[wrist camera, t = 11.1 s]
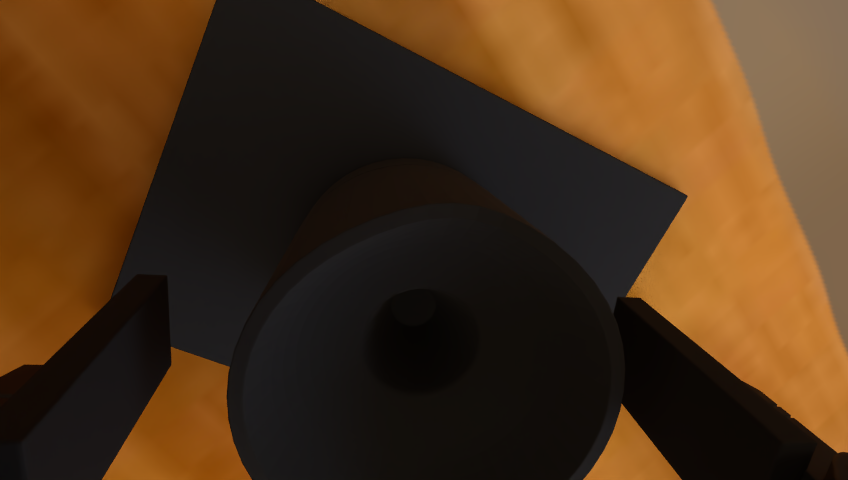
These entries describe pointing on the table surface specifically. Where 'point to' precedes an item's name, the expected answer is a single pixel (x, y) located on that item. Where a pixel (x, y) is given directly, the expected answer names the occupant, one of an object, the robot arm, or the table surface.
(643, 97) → the table surface
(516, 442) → the pen holder
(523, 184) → the desk mat
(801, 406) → the table surface
